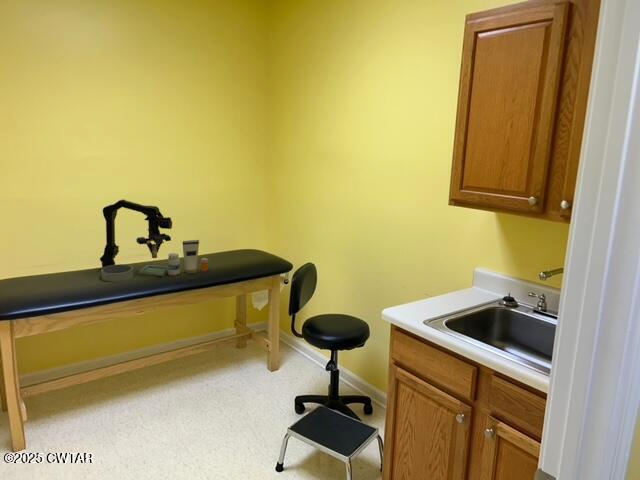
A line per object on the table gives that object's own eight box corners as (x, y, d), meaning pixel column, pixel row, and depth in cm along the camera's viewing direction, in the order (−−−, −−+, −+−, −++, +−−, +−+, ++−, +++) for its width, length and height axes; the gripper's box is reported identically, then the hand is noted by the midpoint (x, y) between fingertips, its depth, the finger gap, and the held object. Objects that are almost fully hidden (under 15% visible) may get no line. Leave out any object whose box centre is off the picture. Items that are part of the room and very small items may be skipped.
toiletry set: (168, 276, 268) (168, 243, 263) (166, 272, 275) (165, 240, 270) (209, 272, 281) (210, 240, 276) (206, 268, 287) (206, 237, 282)
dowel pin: (150, 257, 269) (150, 245, 267) (153, 256, 272) (152, 243, 270) (155, 258, 268) (155, 245, 266) (157, 256, 271) (157, 244, 269)
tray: (139, 274, 267) (139, 270, 267) (148, 268, 279) (147, 264, 278) (162, 276, 267) (162, 273, 266) (170, 270, 278) (170, 266, 277)
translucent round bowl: (95, 281, 252) (95, 272, 251) (111, 272, 268) (110, 263, 267) (124, 284, 251) (124, 274, 250) (138, 274, 268) (137, 265, 266)
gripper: (142, 232, 254) (143, 258, 258) (174, 229, 266) (174, 254, 270) (135, 228, 262) (136, 253, 266) (166, 225, 274) (167, 249, 278)
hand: (154, 253), depth 269 cm, fingers closed on dowel pin, 3 cm apart
